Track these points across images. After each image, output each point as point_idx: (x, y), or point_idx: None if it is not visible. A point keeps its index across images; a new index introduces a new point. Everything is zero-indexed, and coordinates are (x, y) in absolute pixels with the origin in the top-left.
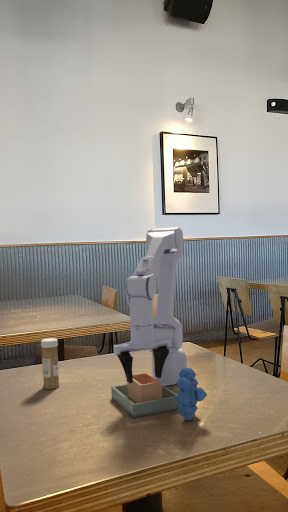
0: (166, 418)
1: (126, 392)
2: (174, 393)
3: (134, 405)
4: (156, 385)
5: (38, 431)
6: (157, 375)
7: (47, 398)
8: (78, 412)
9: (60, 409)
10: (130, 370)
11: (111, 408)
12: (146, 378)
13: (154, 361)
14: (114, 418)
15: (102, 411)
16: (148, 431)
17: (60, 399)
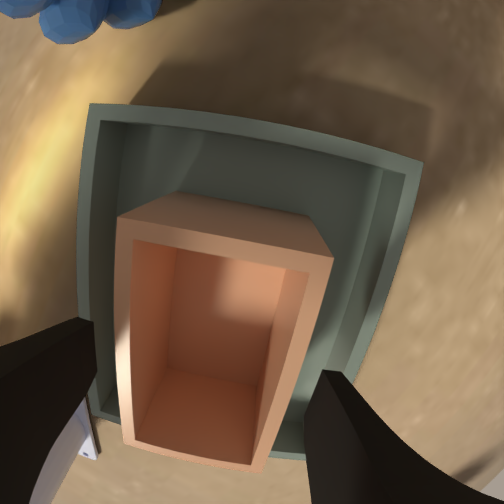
0: (259, 46)
1: None
2: (87, 167)
3: (413, 159)
4: (175, 221)
5: None
6: (87, 347)
7: None
8: (480, 363)
9: (484, 408)
10: (375, 434)
11: (388, 335)
12: (143, 412)
13: (48, 451)
14: (451, 223)
15: (432, 326)
16: (410, 5)
17: None
